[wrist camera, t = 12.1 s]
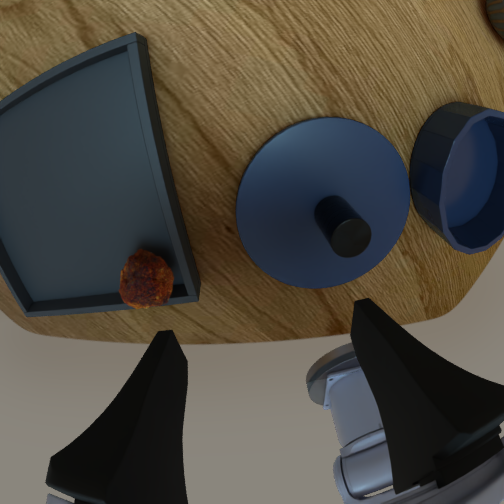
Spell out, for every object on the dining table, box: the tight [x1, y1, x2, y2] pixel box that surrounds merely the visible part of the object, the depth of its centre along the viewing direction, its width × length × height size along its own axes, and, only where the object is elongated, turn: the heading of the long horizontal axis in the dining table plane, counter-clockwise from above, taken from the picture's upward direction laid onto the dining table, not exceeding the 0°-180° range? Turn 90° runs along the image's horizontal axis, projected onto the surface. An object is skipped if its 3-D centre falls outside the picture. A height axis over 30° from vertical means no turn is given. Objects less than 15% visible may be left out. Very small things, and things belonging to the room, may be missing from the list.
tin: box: [410, 102, 504, 255], centre depth 16 cm, size 11×11×4 cm
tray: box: [0, 32, 201, 317], centre depth 16 cm, size 17×17×2 cm
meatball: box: [119, 249, 174, 309], centre depth 17 cm, size 4×4×4 cm
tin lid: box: [236, 117, 410, 288], centre depth 16 cm, size 12×12×5 cm
